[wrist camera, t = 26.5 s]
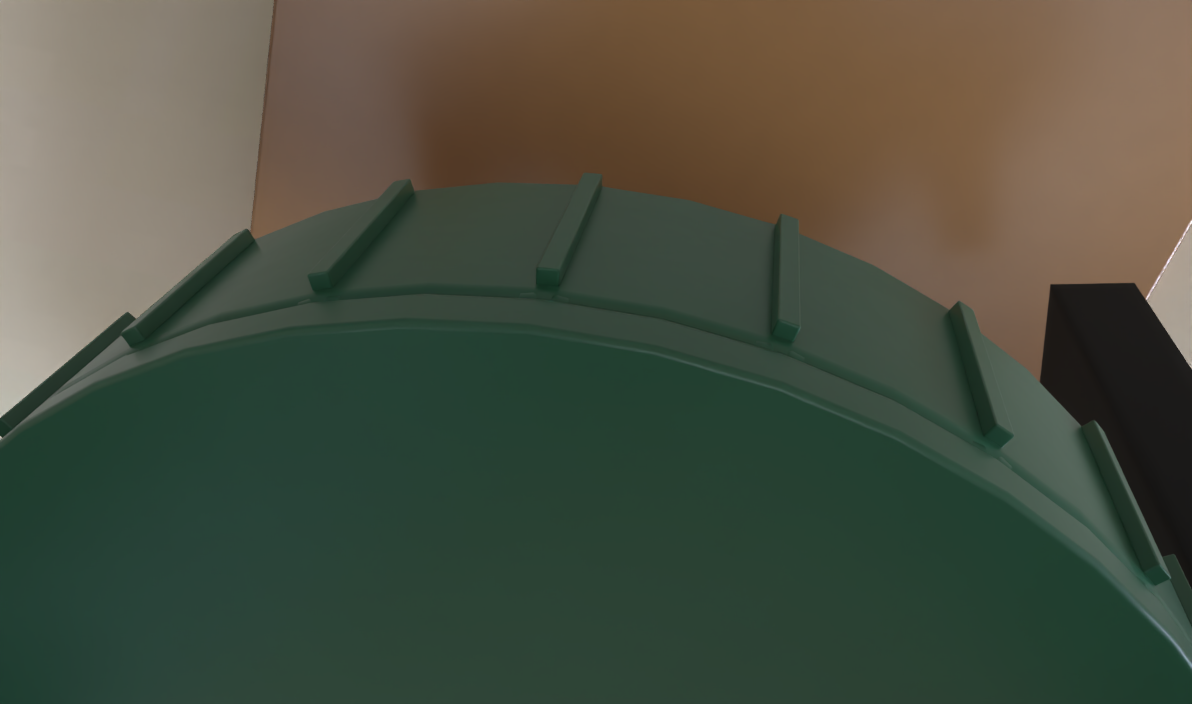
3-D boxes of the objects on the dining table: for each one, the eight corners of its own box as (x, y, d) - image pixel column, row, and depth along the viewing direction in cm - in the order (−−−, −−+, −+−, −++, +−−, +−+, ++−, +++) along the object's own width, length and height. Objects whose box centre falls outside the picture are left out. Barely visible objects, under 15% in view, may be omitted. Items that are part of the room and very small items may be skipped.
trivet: (340, -354, 13) (308, -362, 12) (1315, -62, 13) (1354, -49, 12) (249, 445, 19) (223, 478, 18) (913, 650, 19) (919, 693, 18)
